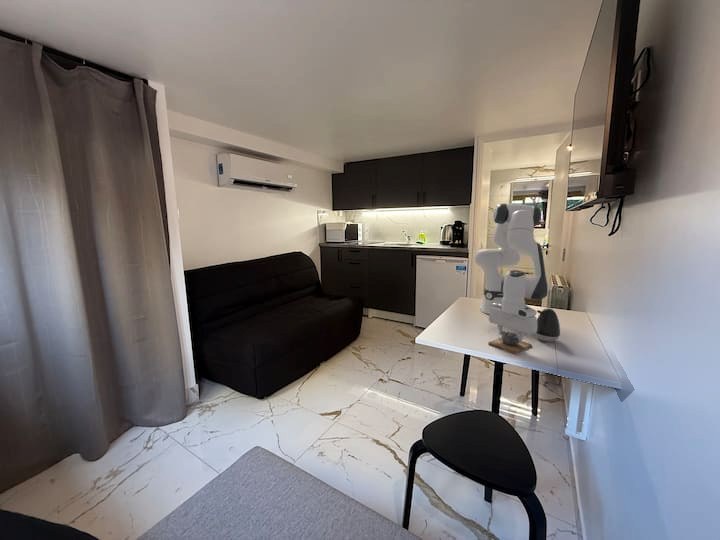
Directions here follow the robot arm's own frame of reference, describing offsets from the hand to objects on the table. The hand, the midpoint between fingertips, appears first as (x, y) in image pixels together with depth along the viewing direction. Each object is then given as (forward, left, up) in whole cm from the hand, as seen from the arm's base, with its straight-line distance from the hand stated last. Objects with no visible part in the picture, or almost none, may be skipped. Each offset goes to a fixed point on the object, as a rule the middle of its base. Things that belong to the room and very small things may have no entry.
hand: (510, 337), depth 131 cm
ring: (0, 0, -2) cm, 2 cm away
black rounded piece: (-20, +6, -4) cm, 21 cm away
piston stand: (0, 0, -4) cm, 4 cm away
